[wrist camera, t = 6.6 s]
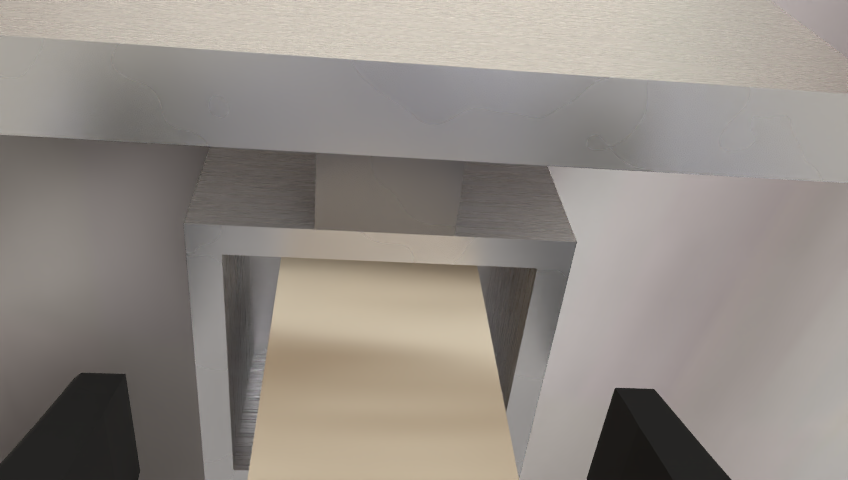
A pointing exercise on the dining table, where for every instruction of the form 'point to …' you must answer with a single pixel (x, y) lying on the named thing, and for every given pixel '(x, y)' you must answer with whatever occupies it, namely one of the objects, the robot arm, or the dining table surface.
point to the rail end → (380, 376)
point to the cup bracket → (414, 140)
